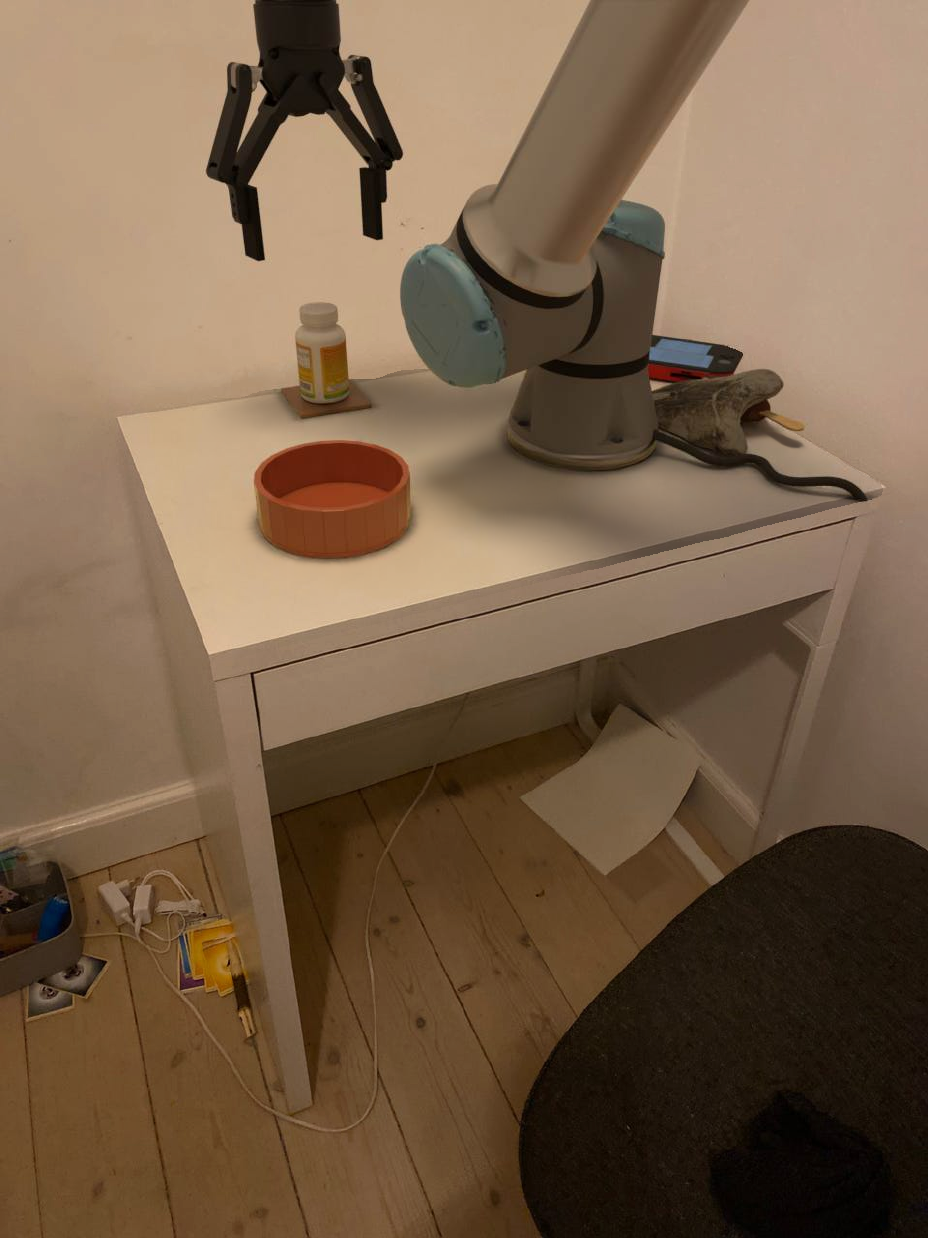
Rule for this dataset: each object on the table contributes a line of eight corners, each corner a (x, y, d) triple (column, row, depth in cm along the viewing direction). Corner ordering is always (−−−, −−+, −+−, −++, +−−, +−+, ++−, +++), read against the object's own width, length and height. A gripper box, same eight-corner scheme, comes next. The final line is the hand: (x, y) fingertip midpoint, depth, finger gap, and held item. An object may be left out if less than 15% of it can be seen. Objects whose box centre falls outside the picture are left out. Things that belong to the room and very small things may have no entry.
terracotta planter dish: (434, 500, 87) (434, 455, 84) (367, 572, 77) (365, 524, 74) (308, 473, 91) (304, 429, 88) (229, 538, 81) (222, 491, 79)
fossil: (645, 347, 104) (776, 350, 95) (659, 374, 108) (788, 380, 98) (604, 431, 101) (736, 442, 92) (620, 456, 105) (749, 469, 95)
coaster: (348, 381, 110) (348, 377, 110) (372, 407, 104) (371, 403, 104) (281, 391, 107) (280, 388, 107) (301, 418, 101) (300, 415, 101)
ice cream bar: (772, 452, 96) (679, 400, 107) (811, 443, 98) (715, 393, 109) (779, 421, 94) (683, 372, 105) (818, 414, 96) (721, 365, 107)
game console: (744, 356, 118) (748, 339, 117) (728, 394, 109) (731, 375, 108) (631, 339, 123) (633, 321, 121) (605, 373, 113) (608, 355, 112)
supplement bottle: (353, 387, 108) (348, 300, 102) (344, 406, 103) (338, 316, 97) (306, 384, 108) (299, 298, 102) (295, 403, 104) (286, 314, 98)
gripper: (390, -9, 92) (397, 222, 105) (142, -3, 80) (184, 258, 92) (435, -6, 88) (437, 236, 100) (179, 0, 75) (218, 276, 87)
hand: (316, 247), depth 96 cm, fingers open, 13 cm apart
